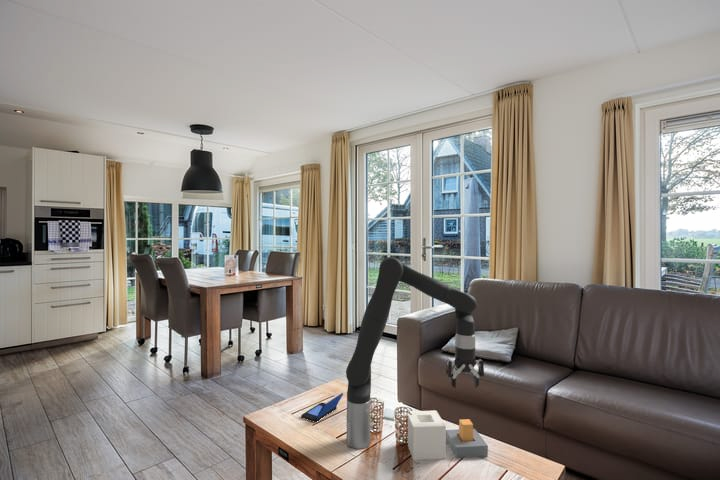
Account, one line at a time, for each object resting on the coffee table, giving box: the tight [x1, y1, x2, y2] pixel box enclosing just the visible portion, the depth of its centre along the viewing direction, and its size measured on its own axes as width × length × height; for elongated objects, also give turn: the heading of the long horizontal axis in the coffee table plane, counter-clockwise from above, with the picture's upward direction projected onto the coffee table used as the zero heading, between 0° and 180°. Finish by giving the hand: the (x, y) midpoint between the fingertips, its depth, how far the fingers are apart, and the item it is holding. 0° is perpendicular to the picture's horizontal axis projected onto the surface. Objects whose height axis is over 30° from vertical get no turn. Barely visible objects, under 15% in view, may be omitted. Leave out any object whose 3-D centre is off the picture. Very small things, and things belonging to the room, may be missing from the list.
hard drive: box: [383, 407, 395, 422], centre depth 167 cm, size 2×8×12 cm
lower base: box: [446, 428, 489, 459], centre depth 140 cm, size 12×12×4 cm
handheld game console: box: [300, 393, 344, 423], centre depth 166 cm, size 16×13×9 cm
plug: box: [458, 418, 474, 442], centre depth 140 cm, size 4×4×9 cm
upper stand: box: [406, 409, 447, 461], centre depth 139 cm, size 12×12×12 cm
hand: (464, 387), depth 140 cm, fingers open, 8 cm apart
